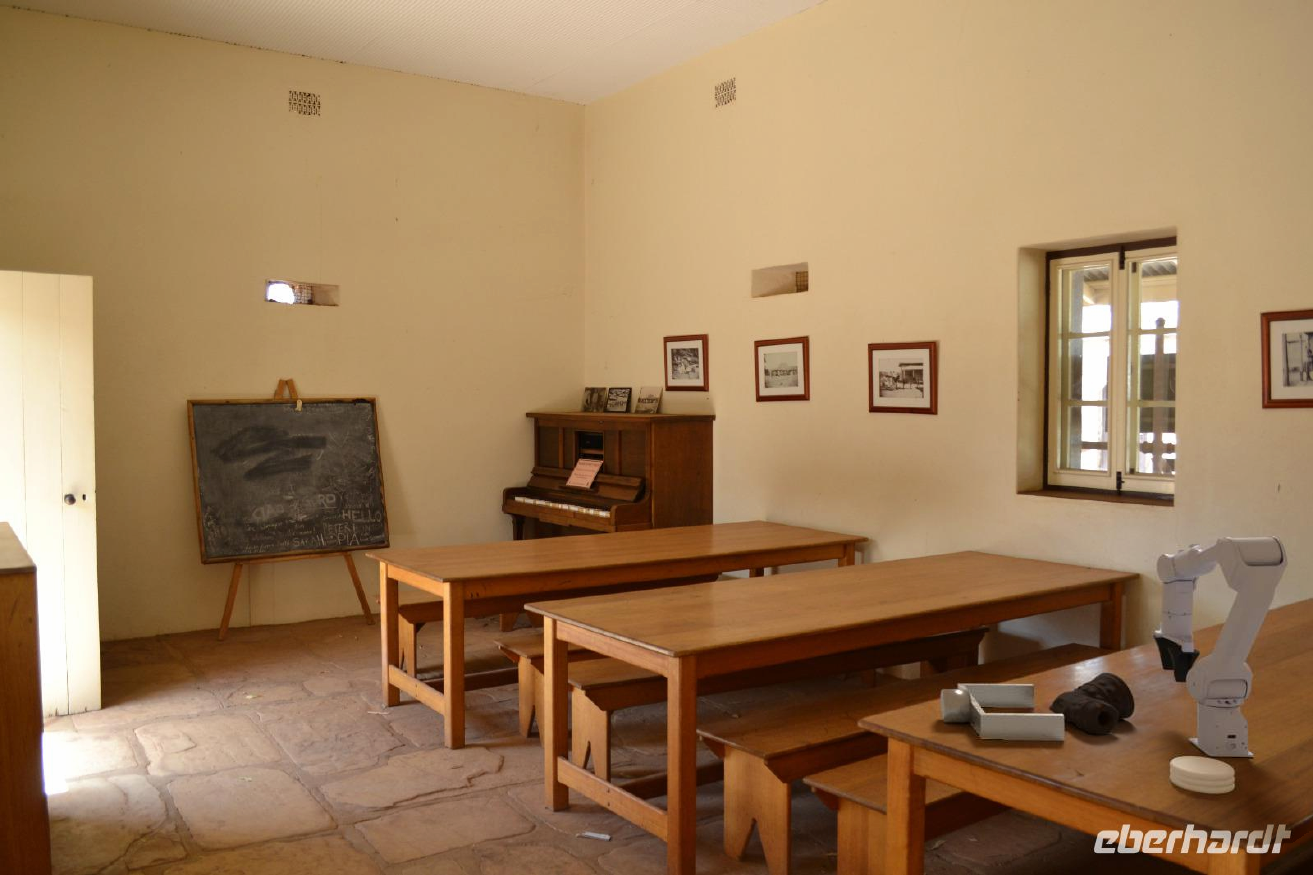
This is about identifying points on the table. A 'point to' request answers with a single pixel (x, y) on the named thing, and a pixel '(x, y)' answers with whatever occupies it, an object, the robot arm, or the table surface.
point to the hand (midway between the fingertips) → (1174, 675)
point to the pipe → (1096, 704)
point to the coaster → (1202, 774)
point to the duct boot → (1000, 725)
